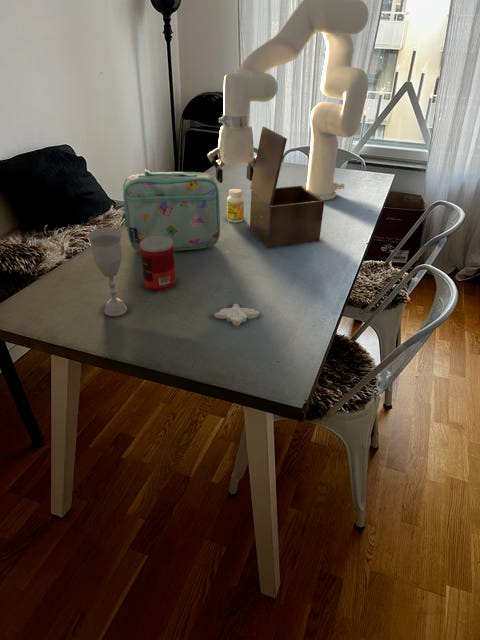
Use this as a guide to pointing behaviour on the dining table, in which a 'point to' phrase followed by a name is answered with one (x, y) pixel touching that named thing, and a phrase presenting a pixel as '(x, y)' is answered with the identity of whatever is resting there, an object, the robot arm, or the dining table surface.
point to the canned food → (158, 262)
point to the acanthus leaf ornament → (236, 314)
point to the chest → (287, 217)
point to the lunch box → (172, 208)
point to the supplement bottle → (235, 206)
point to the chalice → (108, 263)
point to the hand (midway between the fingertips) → (234, 180)
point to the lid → (268, 164)
